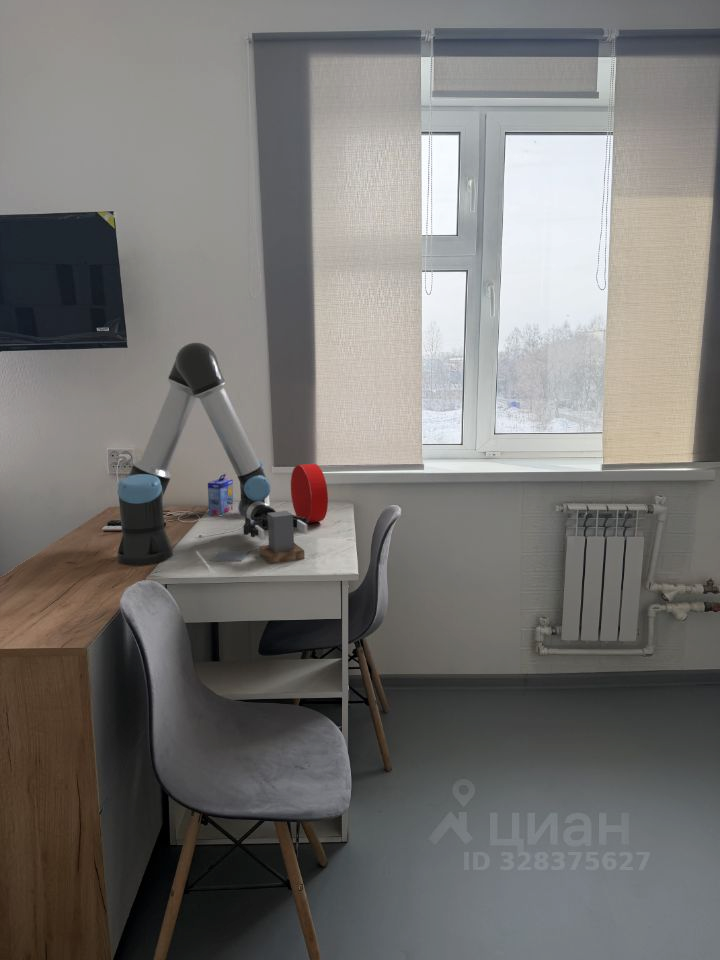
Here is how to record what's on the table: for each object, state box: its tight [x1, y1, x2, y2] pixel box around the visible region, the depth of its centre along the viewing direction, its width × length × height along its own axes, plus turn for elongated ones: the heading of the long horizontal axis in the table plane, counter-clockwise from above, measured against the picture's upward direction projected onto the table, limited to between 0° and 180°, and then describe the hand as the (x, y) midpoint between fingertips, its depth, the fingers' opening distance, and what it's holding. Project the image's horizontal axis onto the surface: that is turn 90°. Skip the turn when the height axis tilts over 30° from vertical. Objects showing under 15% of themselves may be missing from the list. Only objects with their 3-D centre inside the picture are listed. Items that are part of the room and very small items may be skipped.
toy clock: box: [290, 463, 329, 524], centre depth 228 cm, size 20×6×20 cm, turn 25°
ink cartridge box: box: [207, 473, 234, 516], centre depth 244 cm, size 10×6×14 cm, turn 163°
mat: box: [209, 550, 250, 562], centre depth 190 cm, size 9×9×1 cm
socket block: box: [259, 542, 306, 565], centre depth 188 cm, size 10×10×3 cm
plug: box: [267, 510, 295, 552], centre depth 187 cm, size 6×6×12 cm
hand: (284, 532), depth 184 cm, fingers open, 12 cm apart
